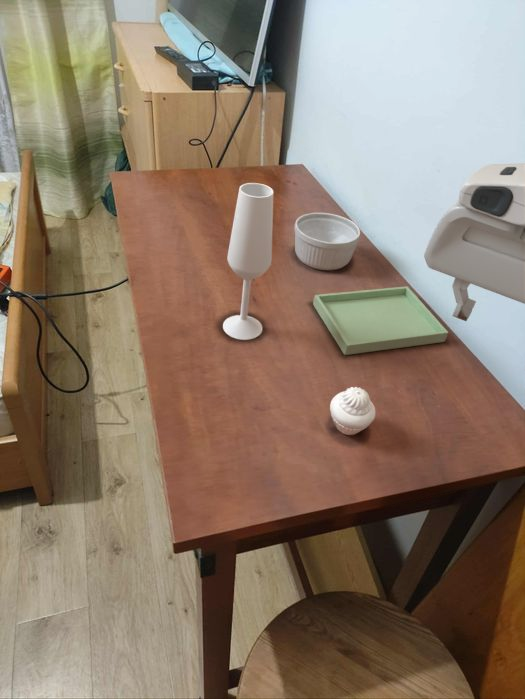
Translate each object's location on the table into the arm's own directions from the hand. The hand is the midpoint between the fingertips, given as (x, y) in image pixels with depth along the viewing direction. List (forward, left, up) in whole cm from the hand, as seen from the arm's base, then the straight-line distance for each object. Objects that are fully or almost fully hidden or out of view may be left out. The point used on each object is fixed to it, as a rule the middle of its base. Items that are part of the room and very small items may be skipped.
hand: (506, 334), depth 51 cm
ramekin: (+34, -42, -24) cm, 59 cm away
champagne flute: (+36, -12, -24) cm, 44 cm away
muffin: (+13, -1, -24) cm, 27 cm away
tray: (+17, -27, -23) cm, 40 cm away
